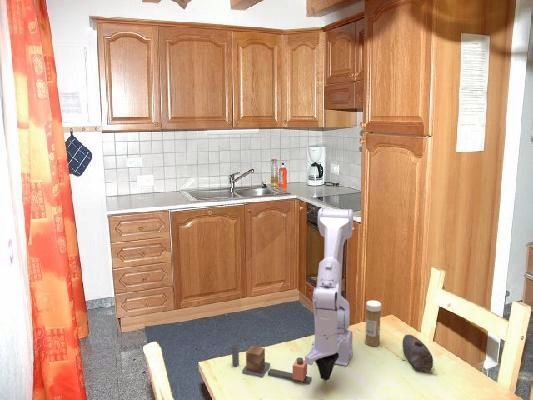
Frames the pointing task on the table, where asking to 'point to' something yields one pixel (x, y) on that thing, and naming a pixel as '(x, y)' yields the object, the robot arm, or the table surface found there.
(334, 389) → the table surface
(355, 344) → the table surface
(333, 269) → the robot arm
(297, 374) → the lever handle
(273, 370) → the rail
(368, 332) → the sprinkles bottle
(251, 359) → the block
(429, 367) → the perforated stone tool
